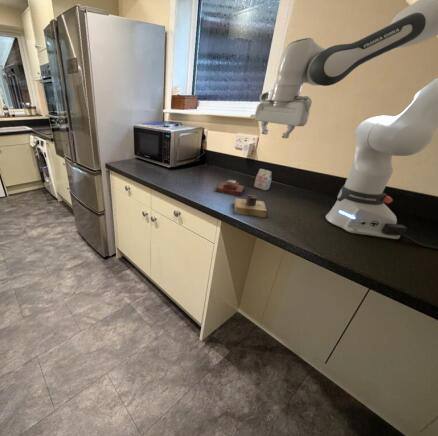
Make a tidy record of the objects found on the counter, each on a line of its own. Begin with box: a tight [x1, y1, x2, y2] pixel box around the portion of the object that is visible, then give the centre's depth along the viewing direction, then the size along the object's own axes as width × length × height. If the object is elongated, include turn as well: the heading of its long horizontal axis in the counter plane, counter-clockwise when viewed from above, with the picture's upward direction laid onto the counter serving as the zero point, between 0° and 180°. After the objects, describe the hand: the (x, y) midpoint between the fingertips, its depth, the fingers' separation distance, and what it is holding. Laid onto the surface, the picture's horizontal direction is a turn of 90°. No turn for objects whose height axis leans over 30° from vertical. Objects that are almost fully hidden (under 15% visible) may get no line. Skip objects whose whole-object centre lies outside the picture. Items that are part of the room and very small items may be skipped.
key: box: [227, 179, 237, 185], centre depth 120 cm, size 4×4×2 cm
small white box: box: [253, 168, 273, 191], centre depth 124 cm, size 4×7×10 cm, turn 33°
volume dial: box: [246, 194, 258, 206], centre depth 100 cm, size 4×4×4 cm
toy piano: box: [215, 180, 245, 197], centre depth 122 cm, size 12×10×4 cm
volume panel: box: [233, 197, 268, 218], centre depth 101 cm, size 12×10×3 cm
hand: (274, 136), depth 90 cm, fingers open, 8 cm apart
